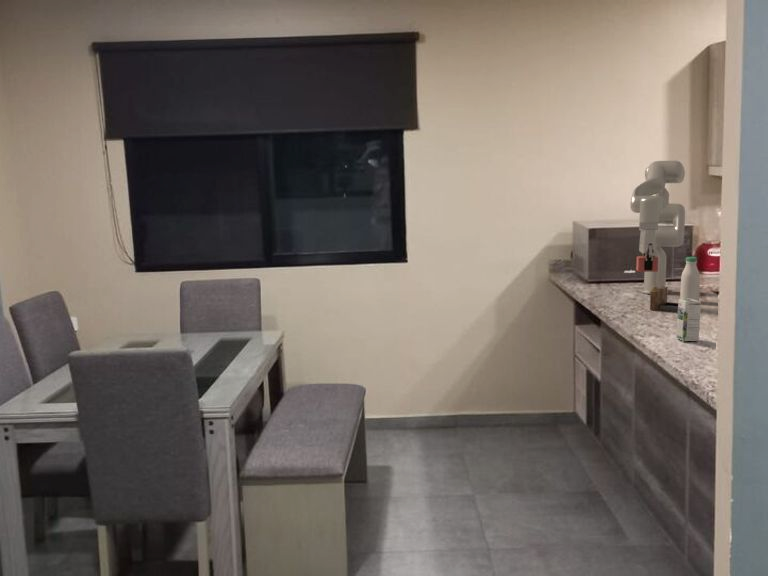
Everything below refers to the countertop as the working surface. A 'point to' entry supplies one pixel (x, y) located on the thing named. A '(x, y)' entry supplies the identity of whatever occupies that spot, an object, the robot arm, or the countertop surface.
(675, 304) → the tray
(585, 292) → the countertop surface
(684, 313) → the syrup box
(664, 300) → the door board
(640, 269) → the red block
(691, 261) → the milk bottle
